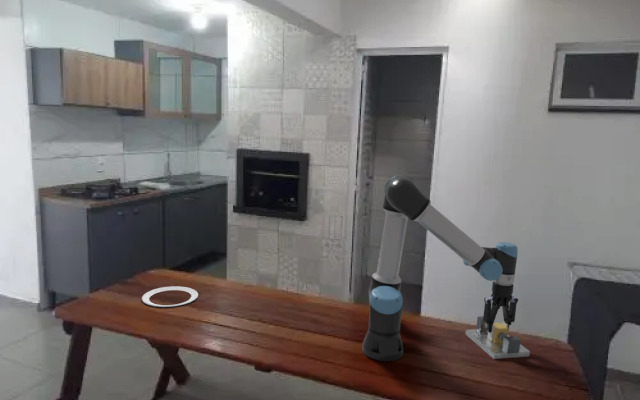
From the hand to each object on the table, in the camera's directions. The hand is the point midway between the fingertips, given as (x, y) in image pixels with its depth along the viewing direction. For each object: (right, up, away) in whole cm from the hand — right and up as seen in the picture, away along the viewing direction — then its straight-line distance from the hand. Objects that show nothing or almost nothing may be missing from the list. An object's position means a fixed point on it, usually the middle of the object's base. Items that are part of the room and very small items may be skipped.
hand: (496, 339), depth 179 cm
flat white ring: (-139, +9, +33) cm, 143 cm away
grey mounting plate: (0, -2, 0) cm, 2 cm away
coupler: (0, 0, 0) cm, 0 cm away
